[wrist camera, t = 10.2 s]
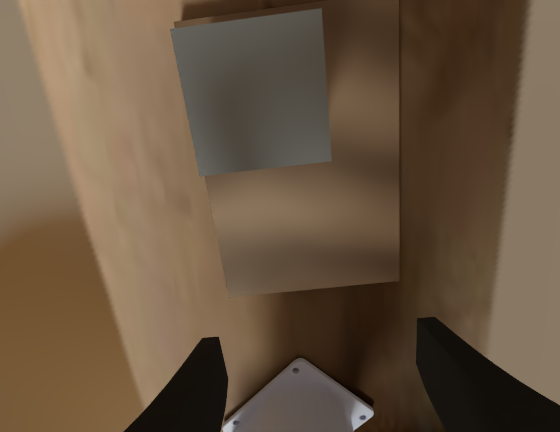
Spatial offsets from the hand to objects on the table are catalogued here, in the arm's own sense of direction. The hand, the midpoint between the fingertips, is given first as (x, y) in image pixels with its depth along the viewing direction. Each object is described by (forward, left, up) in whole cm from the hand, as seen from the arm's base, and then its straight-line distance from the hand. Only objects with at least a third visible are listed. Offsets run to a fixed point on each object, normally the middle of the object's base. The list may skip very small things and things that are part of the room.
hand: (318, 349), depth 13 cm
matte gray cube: (+5, +7, -9) cm, 13 cm away
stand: (+3, +3, -10) cm, 11 cm away
